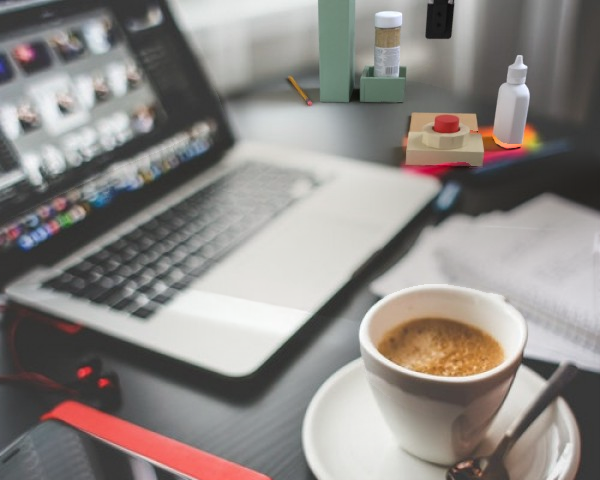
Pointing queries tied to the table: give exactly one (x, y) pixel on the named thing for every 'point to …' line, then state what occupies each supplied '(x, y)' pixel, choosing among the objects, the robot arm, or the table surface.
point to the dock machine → (348, 59)
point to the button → (446, 124)
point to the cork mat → (424, 118)
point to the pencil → (300, 91)
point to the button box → (444, 147)
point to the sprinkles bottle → (387, 43)
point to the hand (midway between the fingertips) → (439, 30)
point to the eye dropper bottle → (512, 105)
